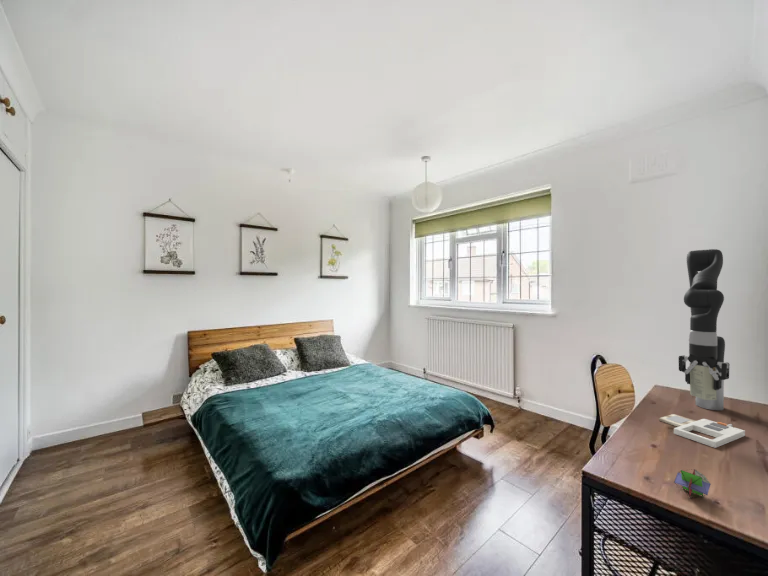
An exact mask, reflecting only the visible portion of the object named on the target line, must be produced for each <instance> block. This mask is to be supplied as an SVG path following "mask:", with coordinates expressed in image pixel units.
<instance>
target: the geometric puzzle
mask: <svg viewBox="0 0 768 576" xmlns="http://www.w3.org/2000/svg"><path fill="white" fill-rule="evenodd" d="M690 470H693V472H692V473H691V472H688V471H689V469H687V468H686V470H684V469H680V471H677V474H676V476H675V479H674V481H673V483H674V484H676V485H677V487H680V486H681V489H682V488H683V489H686V490H685V491H687V490H688V496H689V497H690V499H692V498H693V497H691V496H692V494H695V493H696V494H695V495H697V494H698V495H697V496H696V498H700V495H702V496H703V497H706V496H708V494H709V491H710V487H711V485H712V483H710V481H709V479H708V478H707V477H706V475H705V474H703V473H702V472H700V471H698V470H697V469H695V468H693V469H690ZM683 489H682V490H683ZM692 492H693V493H692ZM702 496H701V497H702ZM689 497H688V498H689Z"/></svg>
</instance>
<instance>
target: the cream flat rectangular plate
mask: <svg viewBox="0 0 768 576" xmlns="http://www.w3.org/2000/svg"><path fill="white" fill-rule="evenodd" d="M658 421H660V422H662V423H666V424H668V425H671V426H674V427H679V426H682V425H685V424H688V423H691V422H694V421H697V420H695V419H692V418H688V417H686V416H682V415H679V414H675V413H672V414H669V415H665V416H661V417H659V418H658Z"/></svg>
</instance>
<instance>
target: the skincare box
mask: <svg viewBox="0 0 768 576" xmlns="http://www.w3.org/2000/svg"><path fill="white" fill-rule="evenodd" d="M690 365H691V363H690V362H689V366H690ZM712 370H713V371H716V367H714V368H712ZM714 380H715V379H714V377H713V376H712V375H711V374H710V373H709V367H706V366H703V365H696V366H695V367H694V368H693V369H692V370H691V372H690V384H689V393H690V394H689V395H691V396H692V397H695V398H696V397H698V398H701V399H704V400H716V399H717V398H716V390H714Z"/></svg>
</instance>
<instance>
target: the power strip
mask: <svg viewBox="0 0 768 576" xmlns="http://www.w3.org/2000/svg"><path fill="white" fill-rule="evenodd" d="M691 431H695V432H698V433H701V434H704V435H708V436H711V437H714V438H713V439H711V438H708V437H705V436H703V435H702V436H701V435H699V434H696V433H693V432H691ZM673 435H677V436H679V437H682V438H685V439H689V440H692V441H694V442H697V443H699V444H703V445H706V446H708V447H712V448H715V449H716V448H719V447H720V446H723V445H726V444H728V443H730V442H734V441H736V440H738V439H740V438H743V437H745V436H746V430H745V429H744V430H743V429H741V428H738V427H733V424H732V423H729V424H727V423H724V422H721V421H713V420H711V419H707V418H701V419H698V420H696V421H694V422H691V423H688V424H685V425H682V426H679V427H677V426H675V427H674V428H673Z"/></svg>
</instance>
